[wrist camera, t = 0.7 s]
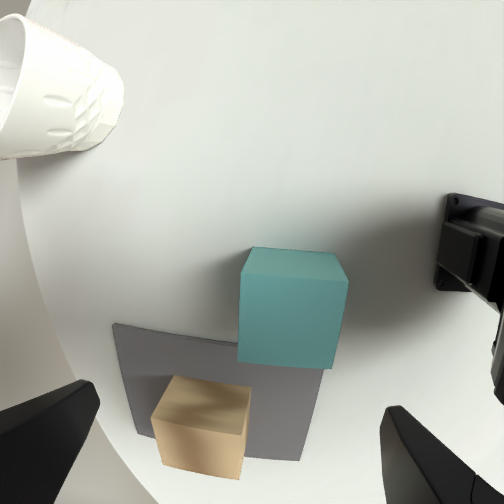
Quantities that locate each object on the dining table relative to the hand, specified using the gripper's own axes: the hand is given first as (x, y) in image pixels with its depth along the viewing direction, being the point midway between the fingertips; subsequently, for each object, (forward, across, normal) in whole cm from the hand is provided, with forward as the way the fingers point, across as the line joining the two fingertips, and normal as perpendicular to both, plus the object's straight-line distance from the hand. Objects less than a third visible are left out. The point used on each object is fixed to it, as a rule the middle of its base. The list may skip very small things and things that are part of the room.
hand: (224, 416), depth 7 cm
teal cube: (+12, -1, +1) cm, 12 cm away
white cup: (+12, +12, -12) cm, 21 cm away
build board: (+12, +5, +11) cm, 17 cm away
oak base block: (+11, +5, +11) cm, 17 cm away
